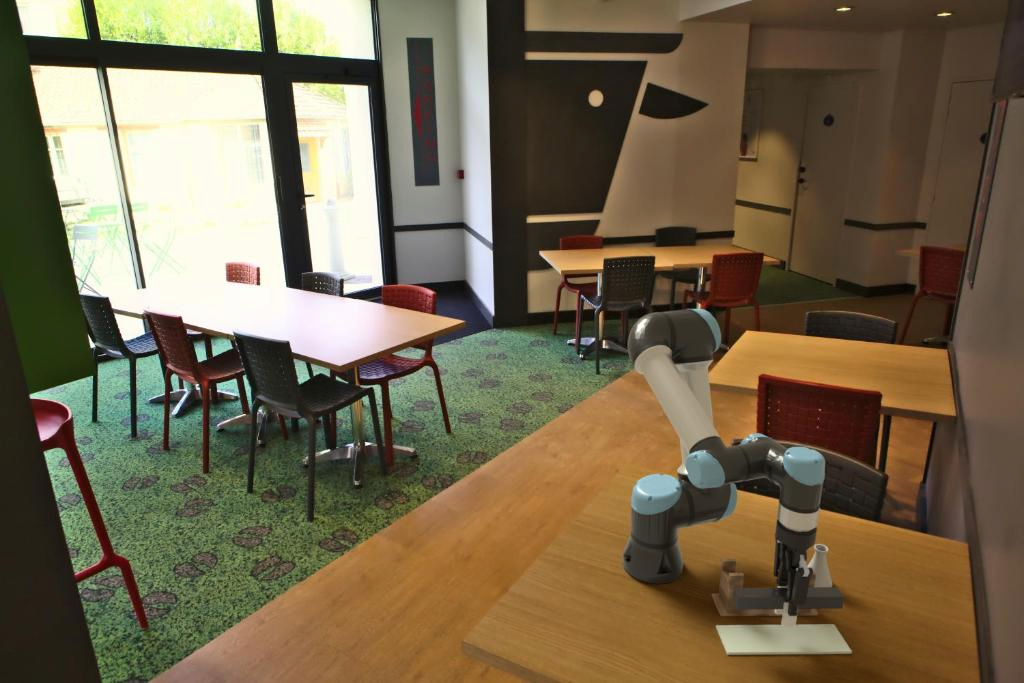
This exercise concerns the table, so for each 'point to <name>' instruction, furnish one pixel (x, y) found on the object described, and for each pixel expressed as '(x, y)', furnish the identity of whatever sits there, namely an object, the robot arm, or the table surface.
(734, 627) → the mat
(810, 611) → the rack
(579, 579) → the table surface
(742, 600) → the rail
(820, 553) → the flask
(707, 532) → the table surface
